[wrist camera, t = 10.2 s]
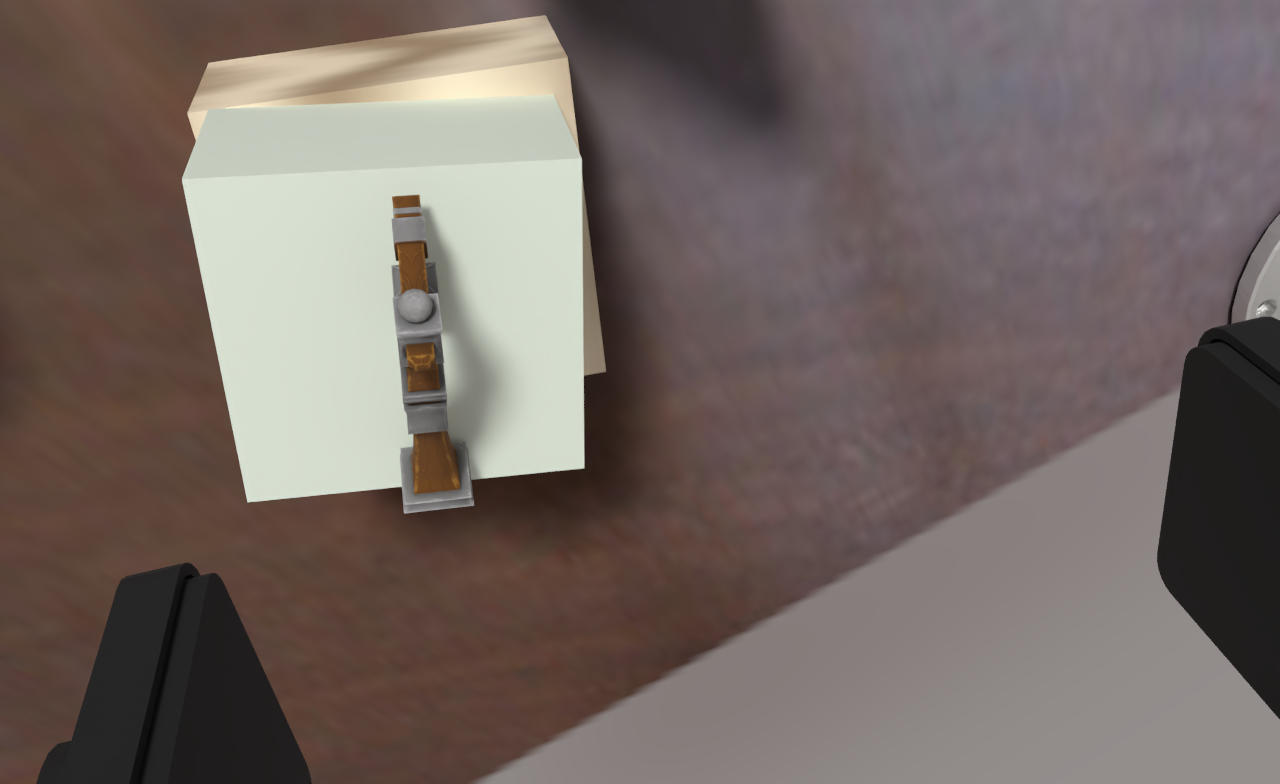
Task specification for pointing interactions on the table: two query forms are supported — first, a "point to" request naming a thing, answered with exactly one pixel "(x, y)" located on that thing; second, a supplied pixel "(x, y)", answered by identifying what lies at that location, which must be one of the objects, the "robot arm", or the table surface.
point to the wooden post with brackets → (423, 373)
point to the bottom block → (415, 91)
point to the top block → (390, 283)
